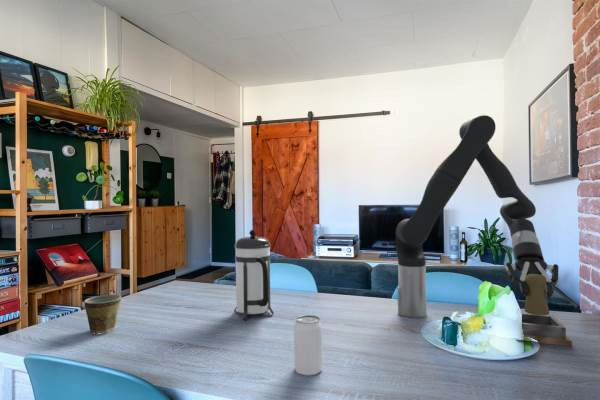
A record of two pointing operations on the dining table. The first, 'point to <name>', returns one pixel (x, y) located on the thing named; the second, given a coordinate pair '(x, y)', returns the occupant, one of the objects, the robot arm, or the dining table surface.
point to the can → (308, 345)
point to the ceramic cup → (102, 312)
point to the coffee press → (252, 275)
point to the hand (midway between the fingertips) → (537, 295)
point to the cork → (536, 295)
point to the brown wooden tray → (545, 329)
